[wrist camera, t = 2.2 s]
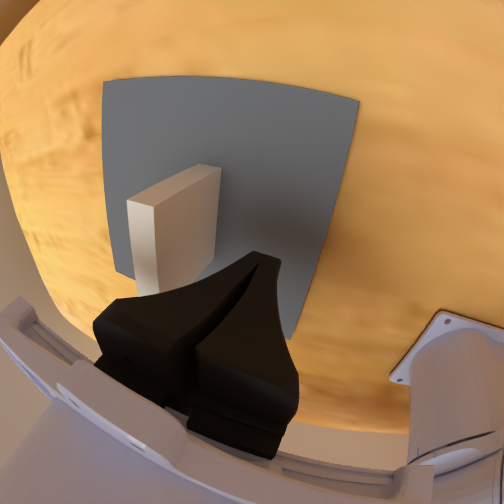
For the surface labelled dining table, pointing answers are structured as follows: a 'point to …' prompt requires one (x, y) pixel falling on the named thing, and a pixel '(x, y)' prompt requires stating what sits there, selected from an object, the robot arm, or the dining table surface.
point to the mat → (233, 165)
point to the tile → (174, 229)
